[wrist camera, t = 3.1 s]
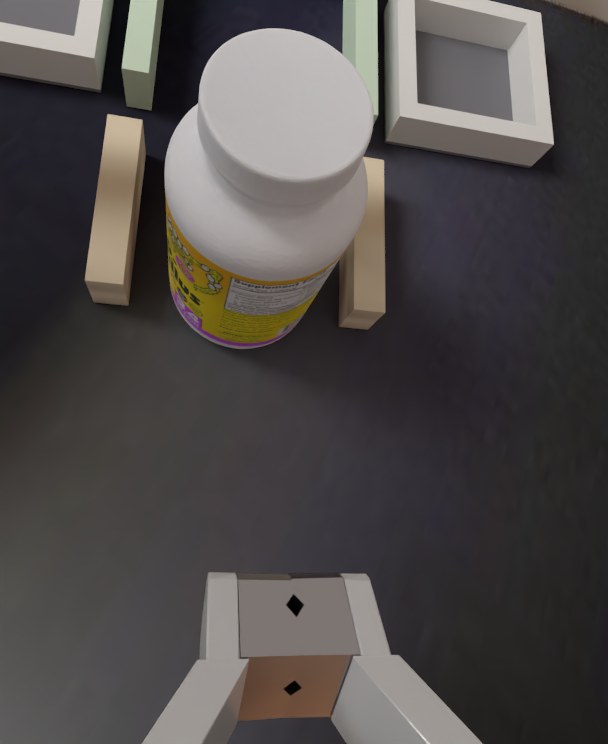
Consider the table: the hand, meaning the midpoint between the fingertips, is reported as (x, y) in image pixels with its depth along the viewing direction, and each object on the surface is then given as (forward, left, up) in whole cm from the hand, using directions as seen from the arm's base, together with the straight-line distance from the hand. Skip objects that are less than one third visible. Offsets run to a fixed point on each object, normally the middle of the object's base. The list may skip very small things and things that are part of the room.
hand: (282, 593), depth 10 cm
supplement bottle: (-6, +10, -14) cm, 18 cm away
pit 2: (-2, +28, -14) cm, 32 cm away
